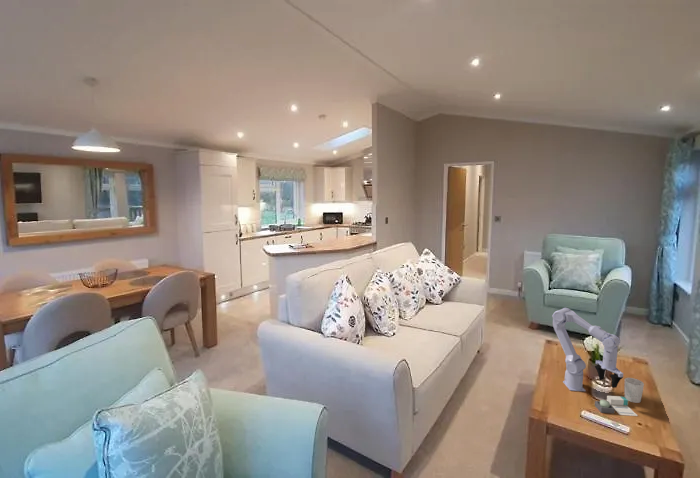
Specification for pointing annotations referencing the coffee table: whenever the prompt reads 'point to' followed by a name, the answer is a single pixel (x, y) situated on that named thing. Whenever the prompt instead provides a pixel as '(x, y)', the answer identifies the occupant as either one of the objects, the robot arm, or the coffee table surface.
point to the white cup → (633, 390)
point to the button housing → (604, 408)
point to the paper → (624, 410)
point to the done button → (604, 403)
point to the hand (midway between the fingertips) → (607, 383)
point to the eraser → (617, 400)
